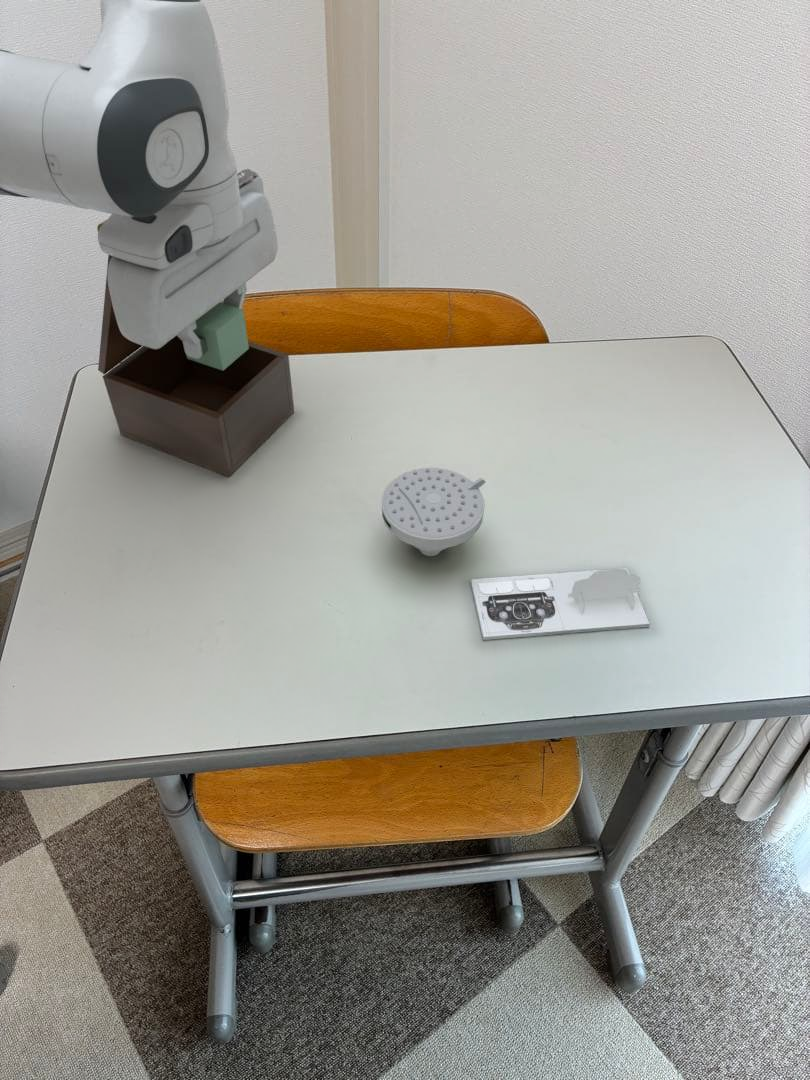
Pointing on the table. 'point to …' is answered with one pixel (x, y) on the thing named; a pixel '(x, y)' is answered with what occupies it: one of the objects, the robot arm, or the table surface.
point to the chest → (201, 403)
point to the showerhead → (433, 508)
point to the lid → (112, 334)
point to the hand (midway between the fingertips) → (215, 339)
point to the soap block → (222, 335)
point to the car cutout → (558, 603)
